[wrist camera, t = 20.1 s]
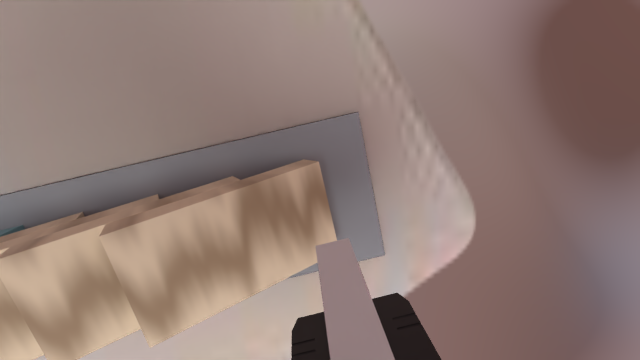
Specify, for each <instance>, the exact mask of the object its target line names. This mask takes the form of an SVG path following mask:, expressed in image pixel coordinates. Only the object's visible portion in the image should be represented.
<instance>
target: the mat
mask: <svg viewBox="0 0 640 360" xmlns="http://www.w3.org/2000/svg"><path fill="white" fill-rule="evenodd" d="M303 159H304V160H311V161H318V162H319V165H320V169H321V173H322V177H323V182H324V186H325V190H326V195H327V199H328V203H329V208H330V212H331V216H332V221H333V225H334V229H335V234H336V238H337V241H338V240H342V239H346V238H349V240H350V243H351V246H352V248H353V251H354V253H355V256H356V259H357V261H362V260H367V259H371V258H375V257H379V256H383V255H385V252H384V247H383V241H382V236H381V231H380V225H379V220H378V215H377V209H376V204H375V199H374V193H373V188H372V183H371V177H370V172H369V167H368V161H367V156H366V151H365V145H364V140H363V135H362V129H361V124H360V119H359V113H358V112H355V113H351V114H347V115H343V116H338V117H334V118H330V119H326V120H321V121H317V122H313V123H308V124H304V125H300V126H296V127H291V128H287V129H283V130H279V131H274V132H270V133H266V134H262V135H257V136H253V137H249V138H244V139H240V140H236V141H232V142H227V143H223V144H219V145H215V146H210V147H206V148H202V149H198V150H193V151H189V152H185V153H181V154H176V155H172V156H168V157H163V158H159V159H155V160H151V161H146V162H142V163H138V164H134V165H129V166H125V167H121V168H117V169H112V170H108V171H104V172H100V173H95V174H91V175H87V176H82V177H78V178H74V179H70V180H65V181H61V182H57V183H53V184H48V185H44V186H40V187H36V188H31V189H27V190H23V191H18V192H14V193H10V194H6V195H1V196H0V230H4V229H8V228H13V227H17V226H21V225H23V226H24V228H25V229H28V228H31V227H34V226H38V225H41V224H44V223H47V222H51V221H54V220H57V219H61V218H64V217H67V216H71V215H74V214H77V213H80V212H83V214H84V216H85V217H86V216H89V215H92V214H95V213H98V212H102V211H105V210H108V209H111V208H114V207H118V206H121V205H124V204H127V203H130V202H134V201H137V200H140V199H143V198H146V197H150V196H153V195H156V194H158V196H159V199H162V198H165V197H168V196H171V195H174V194H177V193H181V192H184V191H187V190H190V189H193V188H196V187H199V186H203V185H206V184H209V183H212V182H215V181H218V180H221V179H225V178H228V177H231V176H234V177H236V178H238V179H240V180H242V179H245V178H248V177H251V176H255V175H258V174H261V173H264V172H267V171H270V170H273V169H276V168H279V167H282V166H285V165H288V164H291V163H294V162H297V161H300V160H303ZM317 271H319V269H318V263H316V264H314V265H312V266H310V267H308V268H306V269H304V270H302V271H300V272H298V273H296V274H294V275H292V276H290V277H288V278H292V277H296V276H300V275H304V274H308V273H312V272H317ZM286 279H287V278H286Z"/></svg>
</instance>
